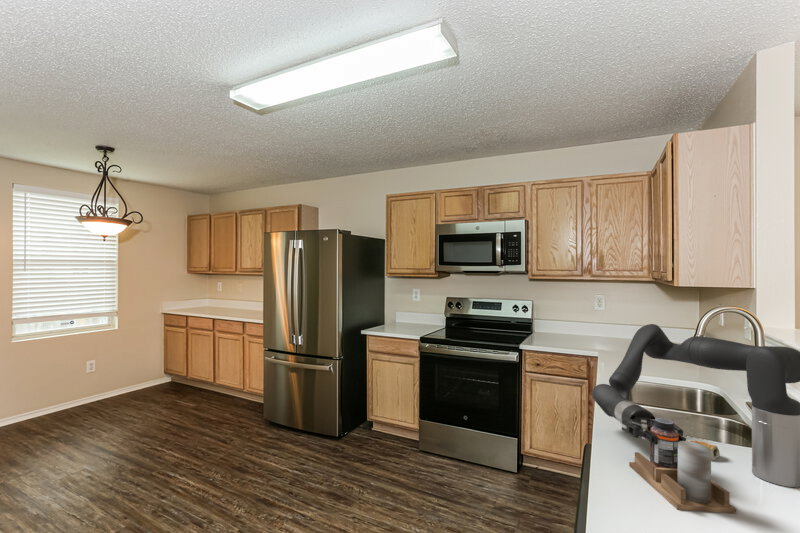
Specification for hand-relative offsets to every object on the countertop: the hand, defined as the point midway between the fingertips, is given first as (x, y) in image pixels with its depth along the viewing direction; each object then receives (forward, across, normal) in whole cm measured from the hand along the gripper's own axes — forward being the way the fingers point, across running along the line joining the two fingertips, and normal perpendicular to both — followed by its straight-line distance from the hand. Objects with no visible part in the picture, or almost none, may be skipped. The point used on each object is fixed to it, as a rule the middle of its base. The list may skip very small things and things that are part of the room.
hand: (670, 441), depth 97 cm
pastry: (-18, +19, +10) cm, 28 cm away
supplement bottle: (-2, 0, +7) cm, 8 cm away
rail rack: (+3, 0, +10) cm, 10 cm away
